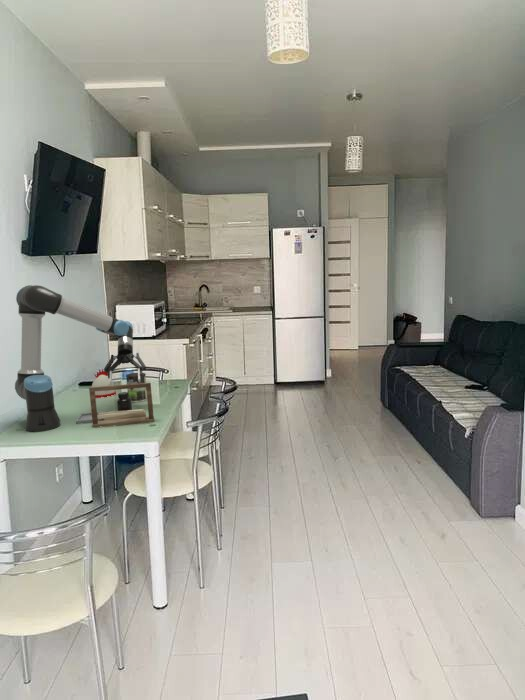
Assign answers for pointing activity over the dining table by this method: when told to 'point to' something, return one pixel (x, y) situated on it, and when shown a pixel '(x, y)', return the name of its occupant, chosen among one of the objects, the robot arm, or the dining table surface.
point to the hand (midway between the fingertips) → (125, 382)
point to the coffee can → (136, 393)
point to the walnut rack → (116, 387)
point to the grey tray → (86, 418)
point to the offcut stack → (121, 416)
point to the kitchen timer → (102, 384)
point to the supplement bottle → (124, 402)
